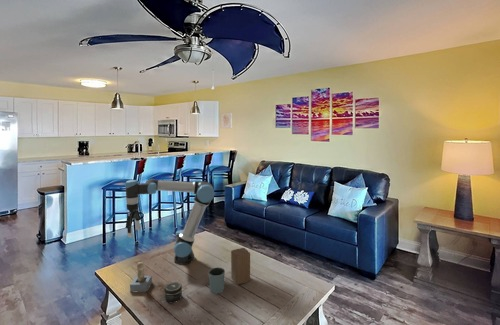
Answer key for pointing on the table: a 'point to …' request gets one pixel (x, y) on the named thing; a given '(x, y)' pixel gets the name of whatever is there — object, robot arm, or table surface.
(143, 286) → the socket
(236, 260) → the wooden block
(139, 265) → the peg
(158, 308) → the table surface
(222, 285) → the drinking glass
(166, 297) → the jar
